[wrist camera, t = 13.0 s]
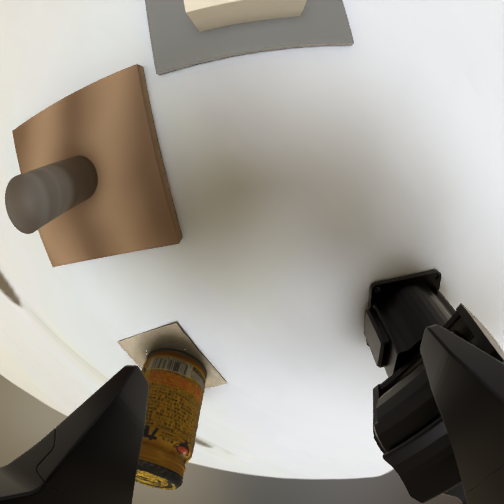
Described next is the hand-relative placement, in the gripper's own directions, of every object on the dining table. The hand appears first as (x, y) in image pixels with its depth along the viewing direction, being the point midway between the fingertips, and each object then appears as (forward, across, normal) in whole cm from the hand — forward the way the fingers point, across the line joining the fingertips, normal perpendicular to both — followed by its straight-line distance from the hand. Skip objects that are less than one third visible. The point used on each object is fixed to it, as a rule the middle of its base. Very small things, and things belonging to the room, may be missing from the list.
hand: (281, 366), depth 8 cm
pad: (+12, -1, -16) cm, 20 cm away
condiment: (+12, +11, +12) cm, 20 cm away
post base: (+12, +12, -6) cm, 18 cm away
